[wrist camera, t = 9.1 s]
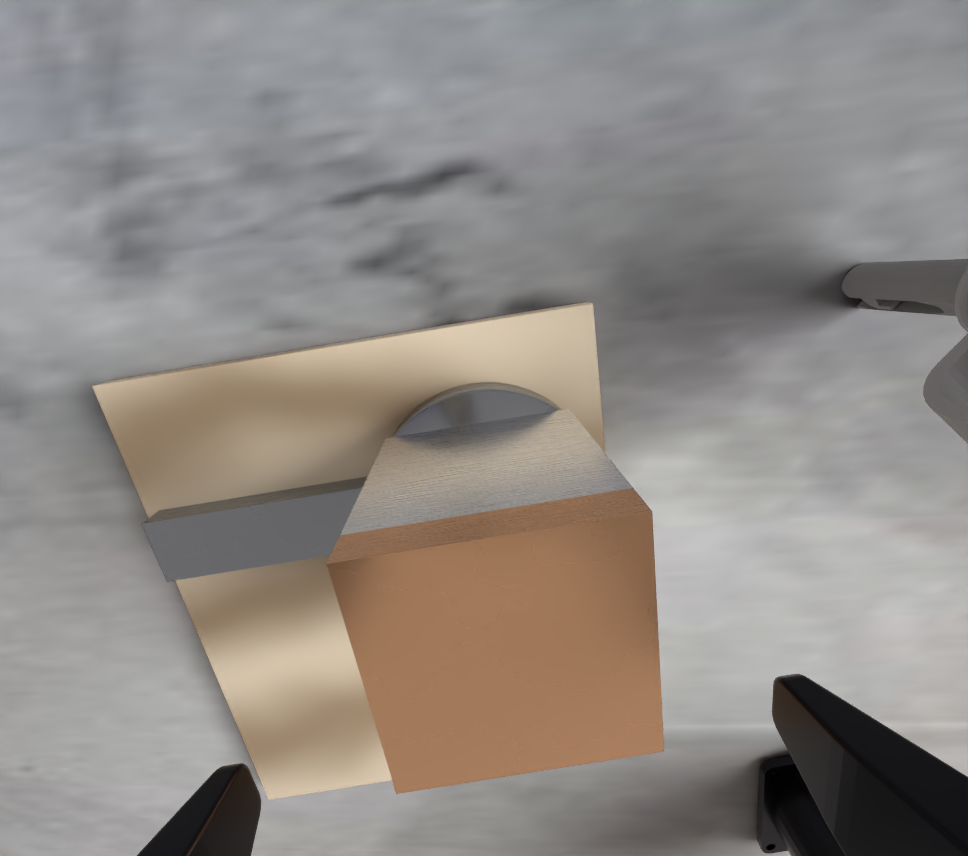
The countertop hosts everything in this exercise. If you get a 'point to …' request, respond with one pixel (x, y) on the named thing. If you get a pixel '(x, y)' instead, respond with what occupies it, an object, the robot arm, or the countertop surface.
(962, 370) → the mechanical component
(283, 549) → the grey frying pan
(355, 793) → the countertop surface
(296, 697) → the workboard
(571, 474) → the tan box
